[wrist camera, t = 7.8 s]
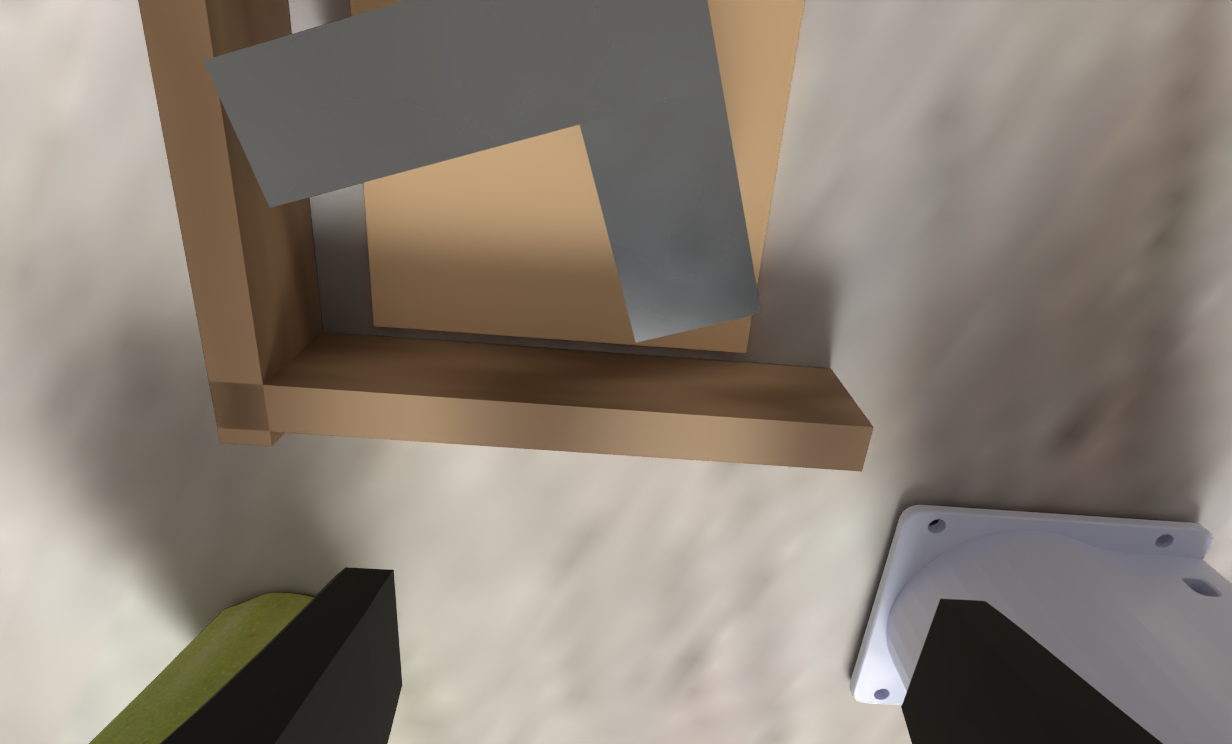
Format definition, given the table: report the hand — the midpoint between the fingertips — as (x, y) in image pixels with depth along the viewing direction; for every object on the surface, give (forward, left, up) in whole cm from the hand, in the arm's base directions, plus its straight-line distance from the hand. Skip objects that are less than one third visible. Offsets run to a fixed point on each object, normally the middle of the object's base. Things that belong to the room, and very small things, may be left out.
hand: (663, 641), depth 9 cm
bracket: (+3, -5, -10) cm, 12 cm away
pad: (+2, -4, -10) cm, 12 cm away
